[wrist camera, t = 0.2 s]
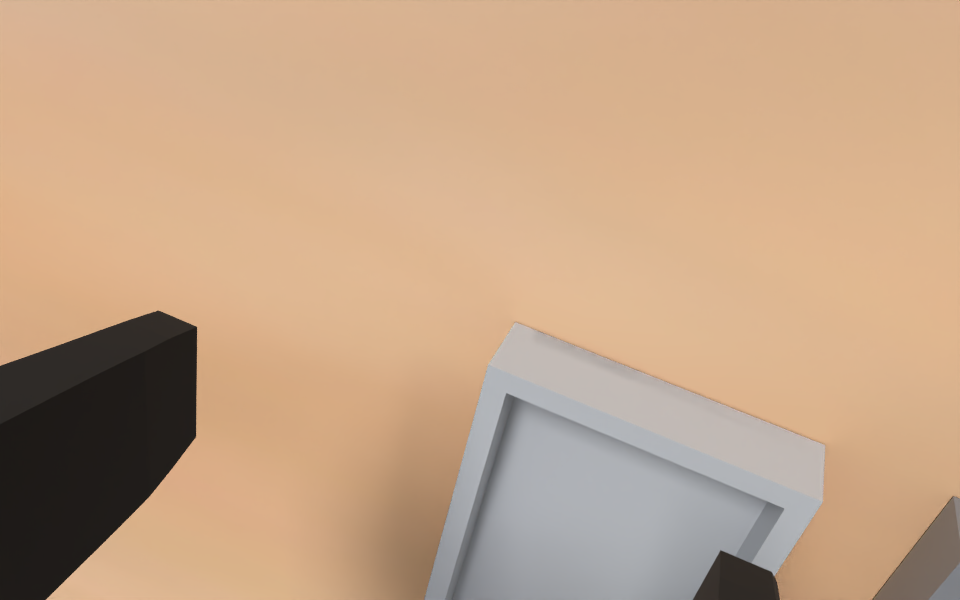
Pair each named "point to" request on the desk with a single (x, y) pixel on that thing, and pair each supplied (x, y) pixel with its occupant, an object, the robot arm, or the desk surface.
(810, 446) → the tray
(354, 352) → the desk surface
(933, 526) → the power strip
